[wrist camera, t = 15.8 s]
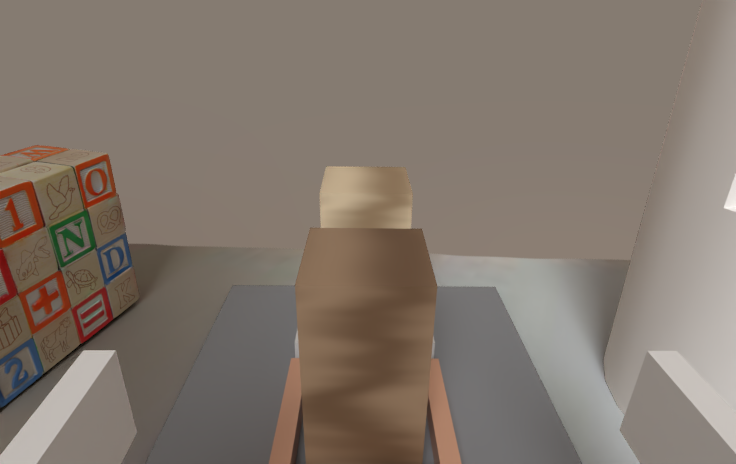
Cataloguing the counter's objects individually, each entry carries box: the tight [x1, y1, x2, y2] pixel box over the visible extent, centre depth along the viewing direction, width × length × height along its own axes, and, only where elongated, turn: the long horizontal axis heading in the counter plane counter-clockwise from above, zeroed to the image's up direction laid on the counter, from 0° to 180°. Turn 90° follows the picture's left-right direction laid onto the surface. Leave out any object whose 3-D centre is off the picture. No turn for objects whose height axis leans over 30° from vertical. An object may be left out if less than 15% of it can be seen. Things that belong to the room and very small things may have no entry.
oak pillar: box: [320, 166, 413, 229], centre depth 33 cm, size 6×6×11 cm
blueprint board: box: [145, 285, 582, 464], centre depth 30 cm, size 22×20×2 cm
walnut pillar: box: [295, 228, 437, 464], centre depth 23 cm, size 6×6×11 cm
